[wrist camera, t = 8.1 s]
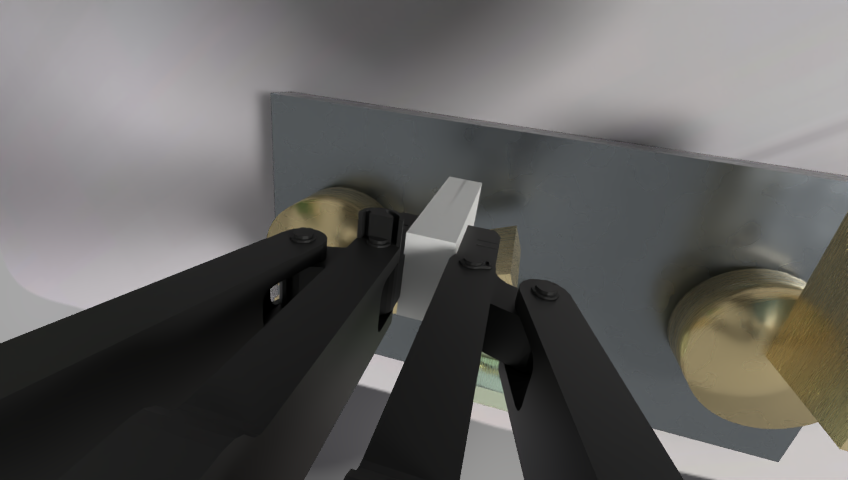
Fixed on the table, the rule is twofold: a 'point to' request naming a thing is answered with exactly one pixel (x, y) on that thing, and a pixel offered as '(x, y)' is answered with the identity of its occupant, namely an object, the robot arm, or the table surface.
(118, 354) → the robot arm
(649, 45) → the table surface
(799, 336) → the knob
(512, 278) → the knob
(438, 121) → the level plate
